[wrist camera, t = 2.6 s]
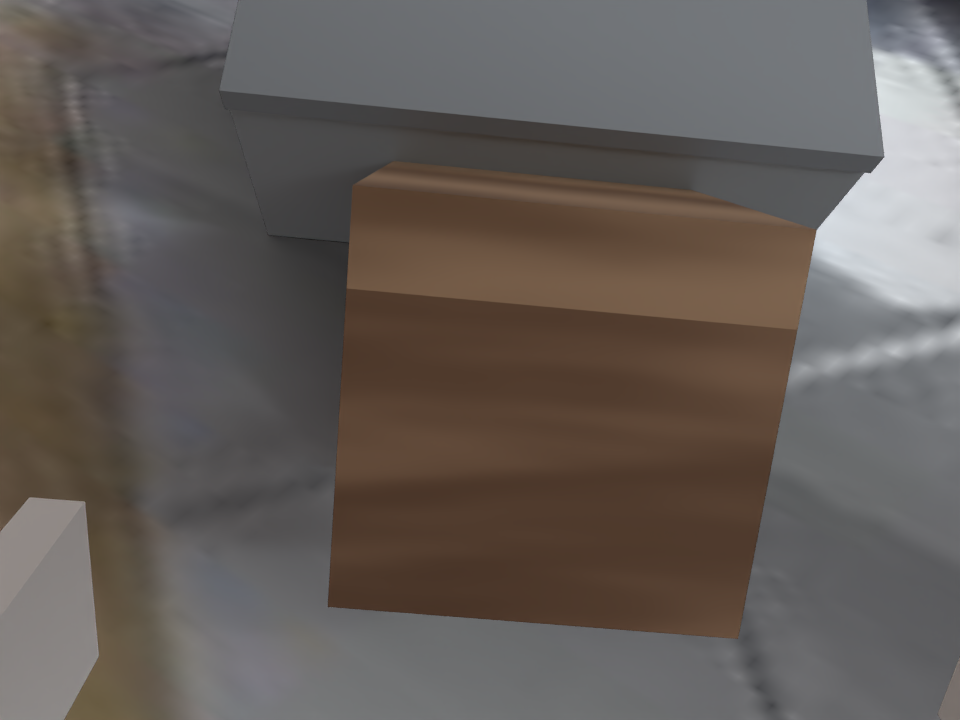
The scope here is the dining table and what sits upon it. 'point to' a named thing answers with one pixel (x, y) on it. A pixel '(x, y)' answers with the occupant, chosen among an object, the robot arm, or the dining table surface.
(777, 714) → the dining table surface
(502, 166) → the grey lidded box
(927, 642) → the dining table surface
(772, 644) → the dining table surface
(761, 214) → the wooden step bench
